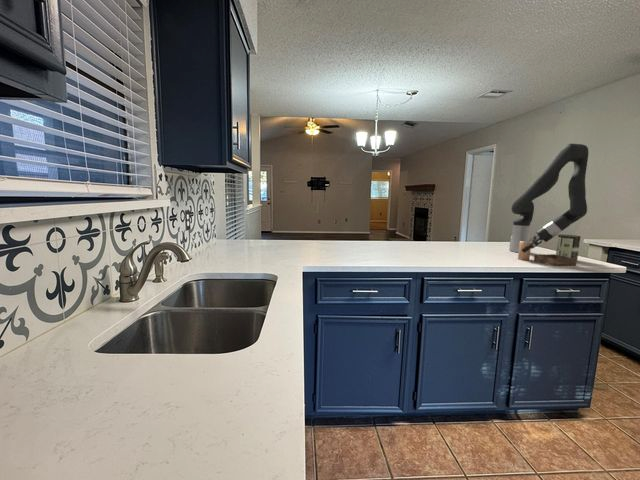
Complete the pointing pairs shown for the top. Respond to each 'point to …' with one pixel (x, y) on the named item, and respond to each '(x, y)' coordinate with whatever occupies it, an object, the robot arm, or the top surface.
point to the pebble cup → (521, 254)
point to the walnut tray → (555, 260)
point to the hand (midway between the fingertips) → (521, 250)
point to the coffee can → (568, 246)
